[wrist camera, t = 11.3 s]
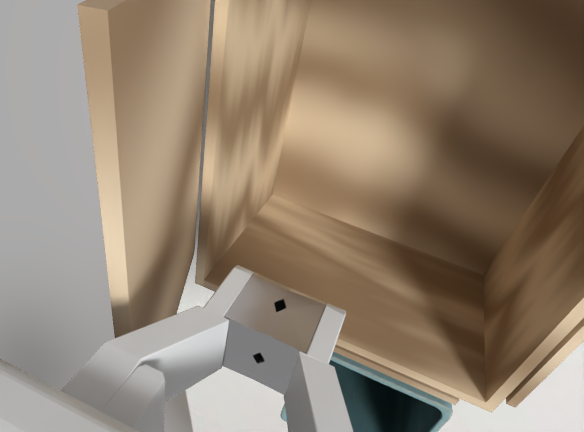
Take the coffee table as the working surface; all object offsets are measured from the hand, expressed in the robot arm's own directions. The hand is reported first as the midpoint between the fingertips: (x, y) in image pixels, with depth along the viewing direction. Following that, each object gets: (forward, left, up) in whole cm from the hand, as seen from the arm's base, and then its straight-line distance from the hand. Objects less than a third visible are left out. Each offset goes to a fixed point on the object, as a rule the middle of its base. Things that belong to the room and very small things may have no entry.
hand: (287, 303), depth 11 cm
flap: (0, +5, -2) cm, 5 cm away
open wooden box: (0, -2, -17) cm, 17 cm away
